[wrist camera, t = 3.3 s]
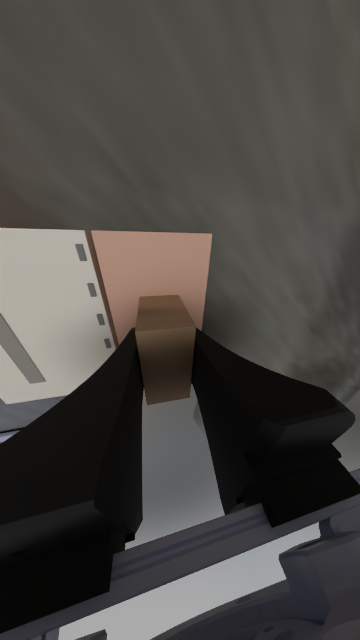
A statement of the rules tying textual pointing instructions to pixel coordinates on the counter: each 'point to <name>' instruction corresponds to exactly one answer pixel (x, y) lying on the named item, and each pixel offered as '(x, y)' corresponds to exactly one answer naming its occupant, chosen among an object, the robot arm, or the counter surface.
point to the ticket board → (51, 313)
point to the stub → (157, 301)
